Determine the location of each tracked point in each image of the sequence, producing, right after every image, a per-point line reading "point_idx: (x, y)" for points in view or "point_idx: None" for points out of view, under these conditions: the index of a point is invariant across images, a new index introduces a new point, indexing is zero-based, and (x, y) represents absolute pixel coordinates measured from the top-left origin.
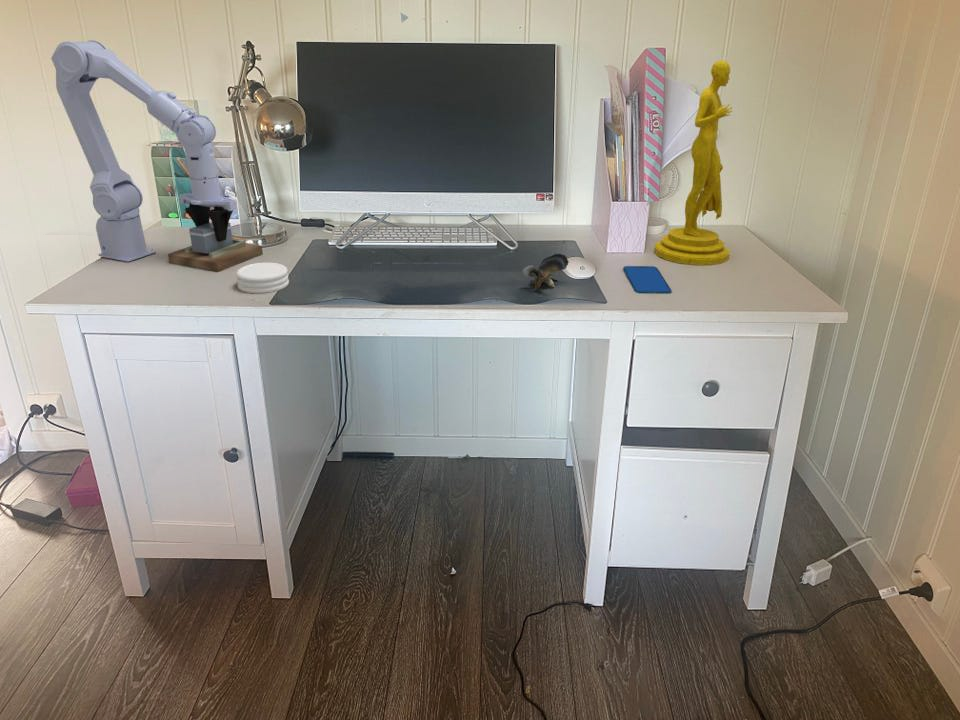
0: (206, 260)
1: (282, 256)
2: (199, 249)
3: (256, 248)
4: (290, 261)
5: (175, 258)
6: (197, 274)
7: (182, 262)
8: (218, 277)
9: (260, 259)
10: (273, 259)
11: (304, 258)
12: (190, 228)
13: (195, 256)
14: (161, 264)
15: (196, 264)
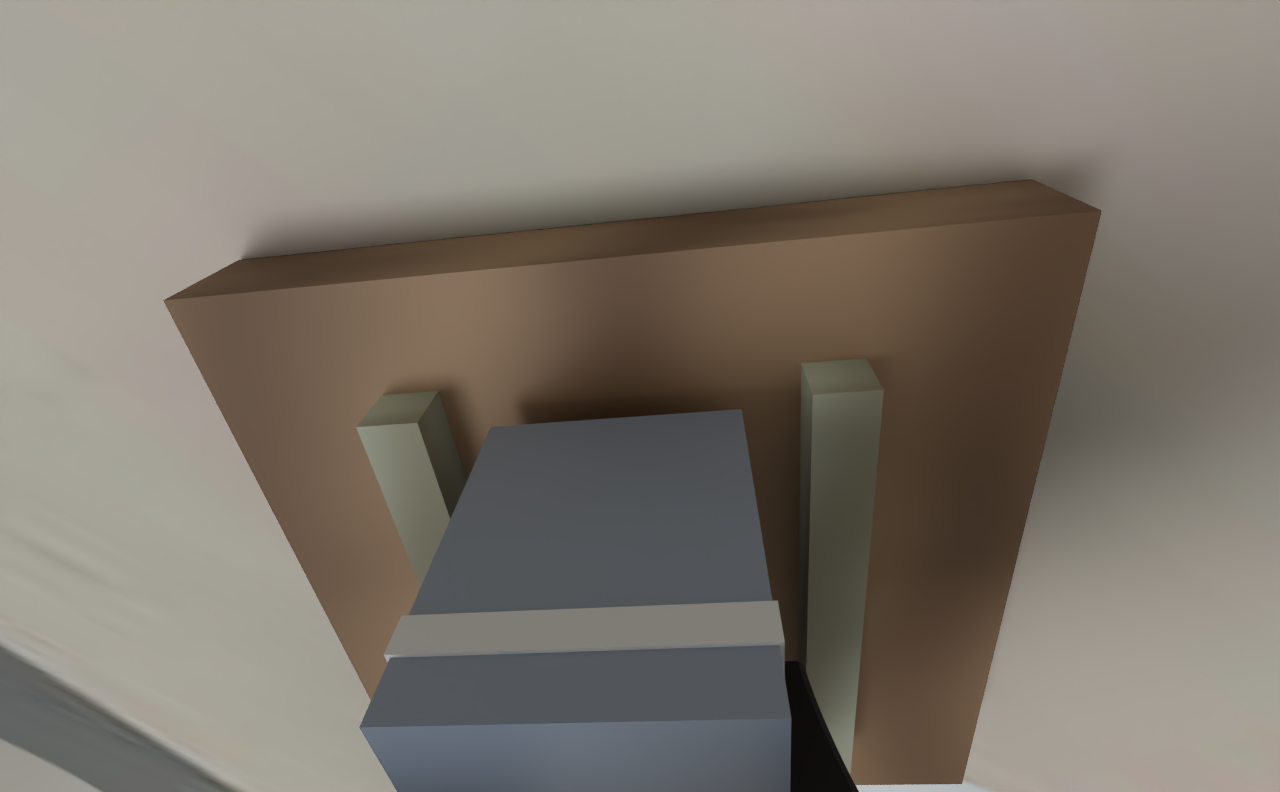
0: (356, 301)
1: (291, 733)
2: (606, 444)
3: None
4: (141, 693)
5: (923, 212)
6: (320, 57)
7: (790, 216)
8: (40, 129)
9: (336, 646)
10: (267, 678)
11: (149, 755)
12: (773, 733)
13: (625, 338)
14: (1100, 68)
15: (538, 240)
